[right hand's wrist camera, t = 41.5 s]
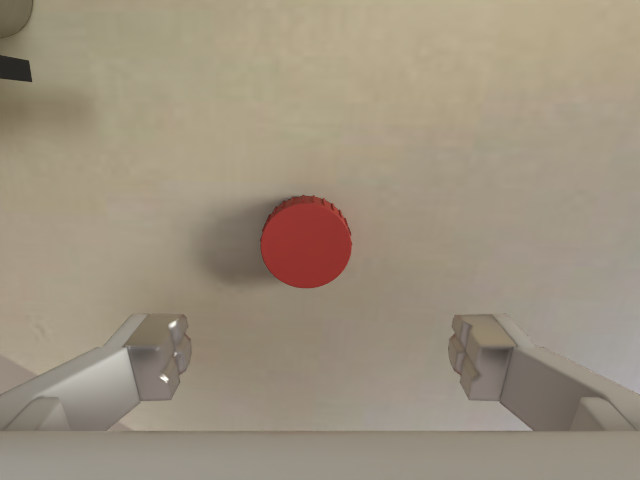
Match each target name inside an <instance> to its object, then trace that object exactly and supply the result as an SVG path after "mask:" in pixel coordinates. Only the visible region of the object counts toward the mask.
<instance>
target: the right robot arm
mask: <svg viewBox="0 0 640 480" xmlns="http://www.w3.org/2000/svg"><path fill="white" fill-rule="evenodd" d="M187 328H188V323H187V318H186V316H185V315H184V314H133V315H131V316H130V317H129V318H128V319H127V320H126V321H125V322H124V323H123V324H122V326H121V327H120V328H119V329H118V330H117V331H116V332H115V333H114V334H113V336H112V337H111V338H110V339H109V340H108V341H107V342H106V343H105V344H104V346H103V347H96V348H94V349H92V350H90V351H88V352H86V353H84V354H82V355H80V356H78V357H76V358H74V359H72V360H70V361H68V362H66V363H64V364H62V365H60V366H58V367H55V368H53V369H51V370H49V371H47V372H45V373H43V374H41V375H39V376H37V377H35V378H33V379H31V380H29V381H27V382H25V383H23V384H21V385H19V386H17V387H15V388H13V389H11V390H9V391H6V392H4V393H2V394H0V480H640V395H639V394H637V393H635V392H633V391H631V390H629V389H627V388H625V387H623V386H621V385H619V384H617V383H615V382H613V381H611V380H609V379H607V378H605V377H603V376H601V375H599V374H597V373H595V372H593V371H591V370H589V369H586V368H584V367H582V366H580V365H578V364H576V363H574V362H572V361H570V360H568V359H566V358H564V357H562V356H560V355H558V354H556V353H554V352H552V351H550V350H548V349H546V348H544V347H537V346H536V344H535V343H534V342H533V341H532V340H531V339H530V338H529V337H528V336H527V334H526V333H525V332H524V331H523V330H522V329H521V328H520V327H519V326H518V324H517V323H516V322H515V321H514V320H513V319H512V318H511V317H510V316H509V315H507V314H481V315H455V316H454V318H453V322H452V328H453V330H454V332H455V334H454V335H453V336H452V337H451V338H450V340H449V347H448V350H449V359H450V362H451V365H452V367H453V369H454V371H455V372H457V373H458V374H460V375H461V378H460V383H461V385H462V387H463V389H464V391H465V393H466V395H467V397H468V399H469V400H481V401H500V403H501V404H502V405H503V406H505V407H506V408H507V409H508V410H509V411H511V412H512V413H513V414H514V415H515V416H517V417H518V418H519V419H520V420H521V421H523V422H524V423H525V424H526V425H527V426H529V427H530V428H531V429H532V430H534V431H107V430H108V429H109V428H110V427H111V426H113V425H114V424H115V423H116V422H117V421H119V420H120V419H121V418H122V417H123V416H125V415H126V414H127V413H128V412H130V411H131V410H132V409H133V408H134V407H136V406H137V405H138V404H139V403H140V401H158V400H171V399H172V397H173V395H174V393H175V391H176V389H177V387H178V385H179V383H180V378H179V375H180V374H182V373H183V372H185V371H186V369H187V367H188V365H189V362H190V358H191V339H190V338H189V337H188V336H187V335H186V334H185V332H186V330H187Z"/></svg>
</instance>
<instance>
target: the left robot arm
mask: <svg viewBox="0 0 640 480" xmlns="http://www.w3.org/2000/svg"><path fill="white" fill-rule="evenodd" d="M0 78H1V79H10V80H19V81H28V82H32V77H31V71H30V65H29V61H28V60H22V59H17V58H12V57H7V56H1V55H0Z"/></svg>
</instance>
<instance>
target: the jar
mask: <svg viewBox="0 0 640 480" xmlns="http://www.w3.org/2000/svg"><path fill="white" fill-rule="evenodd" d="M32 4H33V0H0V37H7V36H10V35H13V34H15V33H17V32H18V31H19V30H21V29H22V28H23V27H24V25H25V24H26V22H27V21H28V19H29V17H30V14H31V10H32Z"/></svg>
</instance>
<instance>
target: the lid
mask: <svg viewBox="0 0 640 480" xmlns="http://www.w3.org/2000/svg"><path fill="white" fill-rule="evenodd" d="M266 222H267V223H265V225H264V227H263V230H262V231H263V234H262V237H261V239H260V241H261V253H262V257H263V260H264V262H265V264H266V266H267V268H268V269H269V271H270V272H271V273H272V274H273V275H274V276H275V277H276V278H277V279H279V280H280V281H282V282H284V283H286V284H288V285H290V286H294V287H298V288H314V287H319V286H322V285H325V284H327V283H329V282H331V281H332V280H334V279H335V278H336V277H338V276H339V275H340V274H341V272H342V271H343V270H344V269H345V267H346V265H347V263H348V261H349V258H350V255H351V245H352V242H351V237H350V236H351V232H350V229H349V227H347V226H348V224H347V221H346V218H344V217H343V216H342V214H341V211H340V210H338V209H337V208H336V207H334V204H333V203H332V204H331V203H329V202H327V201H325V199H324V198H323V199H320V198H317V197H315V196H314V195H313V197H312V196H304V195H302V196H301V197H295V198H294V197H292V199H290V200H287V201H283V203H282V204H281V205H279V206H278V207H275V209H274V211H273V213H272V214H269V216H268V219H267V221H266Z"/></svg>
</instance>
